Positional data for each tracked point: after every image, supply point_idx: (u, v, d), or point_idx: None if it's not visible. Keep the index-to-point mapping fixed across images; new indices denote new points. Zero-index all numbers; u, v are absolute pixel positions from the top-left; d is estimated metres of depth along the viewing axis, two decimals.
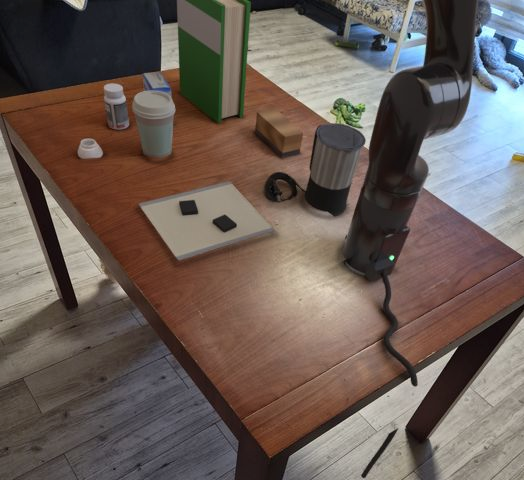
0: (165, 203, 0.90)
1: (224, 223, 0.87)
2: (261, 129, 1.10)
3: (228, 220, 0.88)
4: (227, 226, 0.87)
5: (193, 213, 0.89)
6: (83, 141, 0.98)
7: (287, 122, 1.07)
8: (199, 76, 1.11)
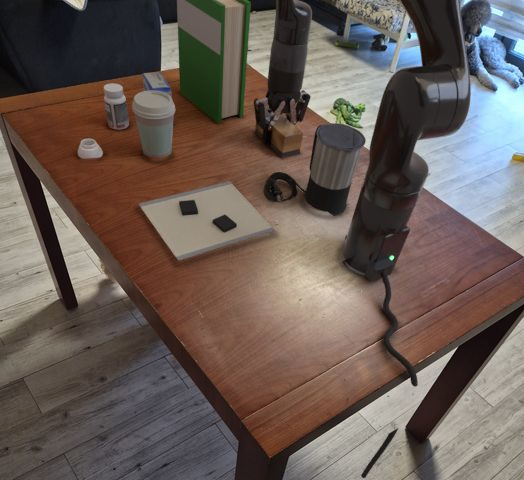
0: (165, 203, 0.90)
1: (224, 223, 0.87)
2: (261, 129, 1.10)
3: (228, 220, 0.88)
4: (227, 226, 0.87)
5: (193, 213, 0.89)
6: (83, 141, 0.98)
7: (287, 122, 1.07)
8: (199, 76, 1.11)
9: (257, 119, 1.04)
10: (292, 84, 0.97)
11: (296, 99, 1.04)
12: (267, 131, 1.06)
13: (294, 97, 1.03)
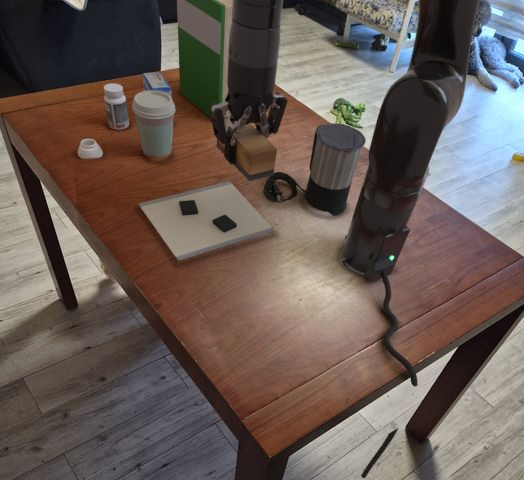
0: (165, 203, 0.90)
1: (224, 223, 0.87)
2: None
3: (228, 220, 0.88)
4: (227, 226, 0.87)
5: (193, 213, 0.89)
6: (83, 141, 0.98)
7: (257, 134, 0.81)
8: (199, 76, 1.11)
9: (215, 130, 0.78)
10: (260, 84, 0.71)
11: (268, 104, 0.77)
12: (230, 146, 0.80)
13: (265, 101, 0.77)
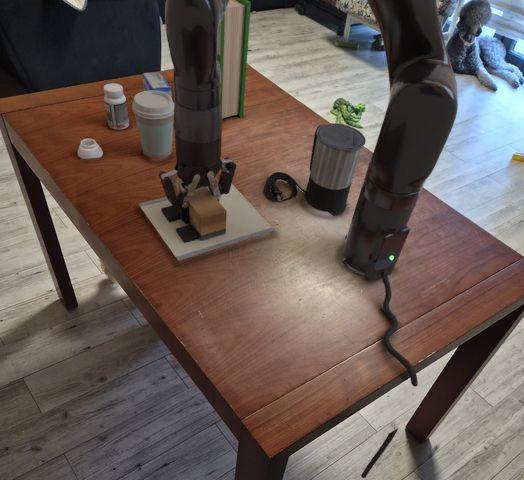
0: (165, 203, 0.90)
1: (186, 233, 0.84)
2: None
3: (191, 231, 0.85)
4: (188, 237, 0.84)
5: (179, 218, 0.87)
6: (83, 141, 0.98)
7: (208, 195, 0.85)
8: None
9: (167, 195, 0.82)
10: (205, 156, 0.75)
11: (216, 170, 0.81)
12: (182, 208, 0.84)
13: (213, 168, 0.80)
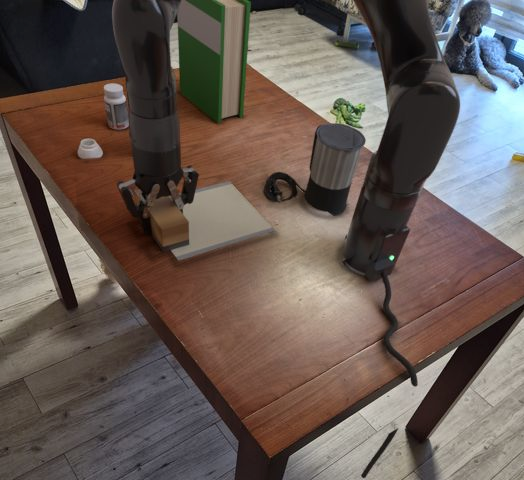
0: None
1: None
2: None
3: None
4: None
5: None
6: (83, 141, 0.98)
7: (171, 205, 0.82)
8: (199, 76, 1.11)
9: (127, 205, 0.79)
10: (162, 166, 0.72)
11: (178, 179, 0.78)
12: (143, 218, 0.81)
13: (174, 177, 0.78)
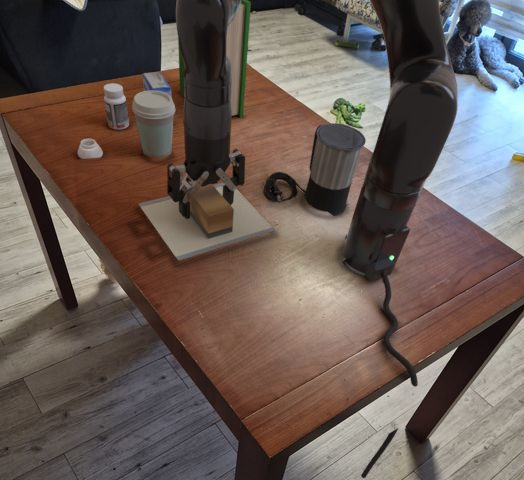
0: (165, 203, 0.90)
1: None
2: None
3: None
4: None
5: None
6: (83, 141, 0.98)
7: (215, 194, 0.85)
8: None
9: (169, 189, 0.81)
10: (214, 153, 0.75)
11: (226, 166, 0.82)
12: (183, 203, 0.83)
13: (222, 165, 0.81)
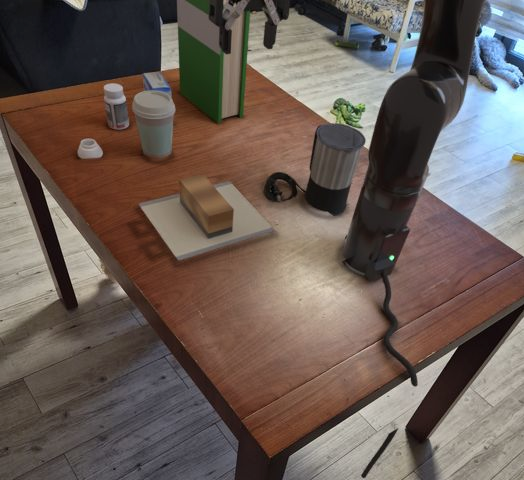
0: (165, 203, 0.90)
1: None
2: (185, 200, 0.88)
3: None
4: None
5: None
6: (83, 141, 0.98)
7: (215, 194, 0.85)
8: (199, 76, 1.11)
9: (211, 11, 0.75)
10: None
11: None
12: (224, 31, 0.77)
13: None
